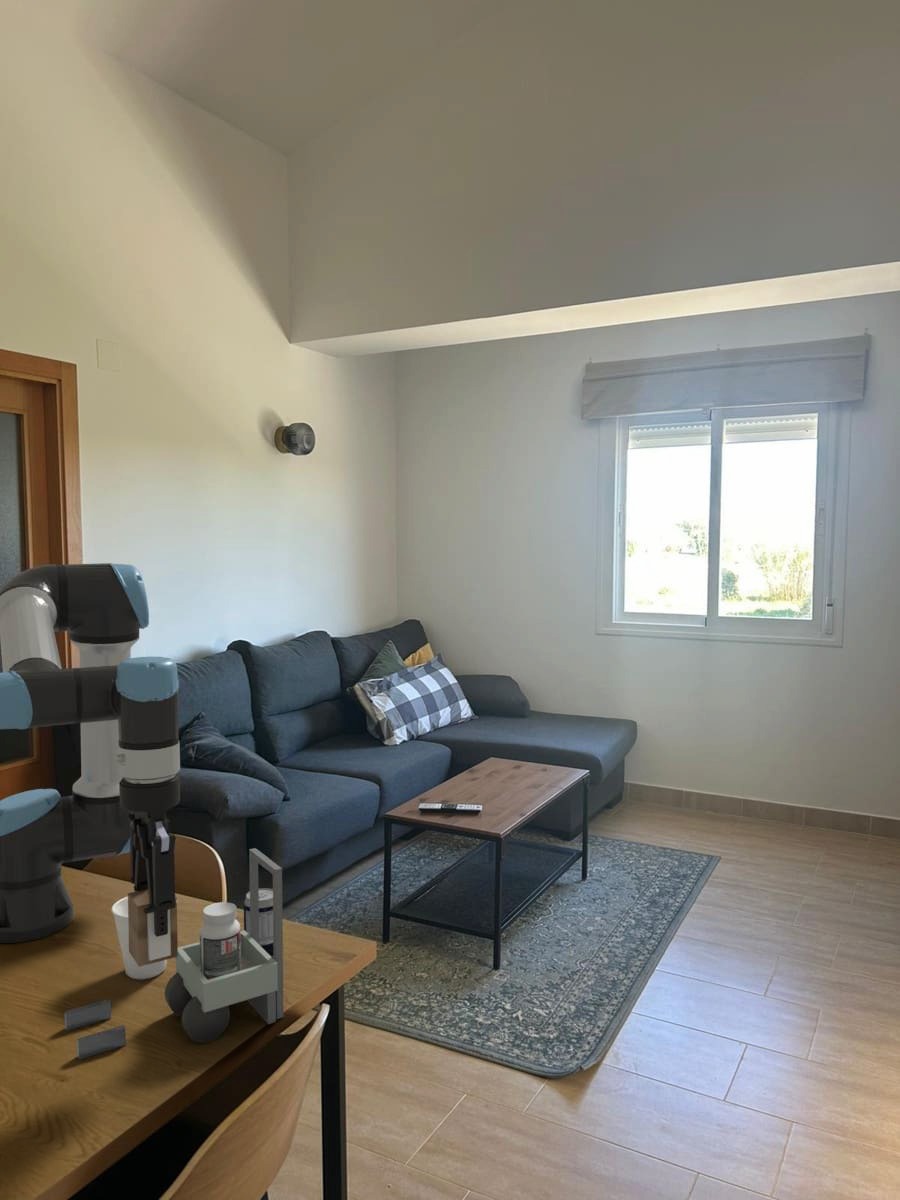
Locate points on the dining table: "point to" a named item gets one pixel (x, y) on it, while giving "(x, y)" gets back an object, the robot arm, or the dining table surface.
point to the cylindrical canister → (262, 919)
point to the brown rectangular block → (140, 930)
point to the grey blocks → (98, 1040)
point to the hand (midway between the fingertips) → (153, 948)
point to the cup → (123, 934)
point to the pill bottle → (220, 941)
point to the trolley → (255, 982)
